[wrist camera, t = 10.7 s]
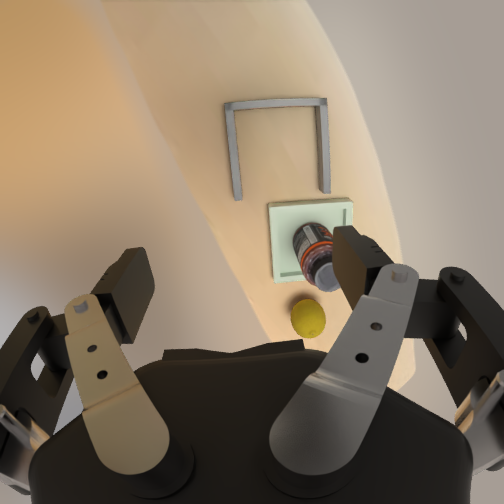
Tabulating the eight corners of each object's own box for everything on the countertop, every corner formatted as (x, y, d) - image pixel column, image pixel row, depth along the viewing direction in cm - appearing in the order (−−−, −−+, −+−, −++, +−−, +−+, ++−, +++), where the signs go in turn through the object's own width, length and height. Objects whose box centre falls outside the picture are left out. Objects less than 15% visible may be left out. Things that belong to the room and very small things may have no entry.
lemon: (307, 284, 47) (318, 313, 40) (325, 304, 49) (337, 334, 42) (281, 303, 48) (287, 334, 41) (299, 321, 50) (307, 352, 43)
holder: (225, 104, 35) (224, 103, 32) (321, 99, 35) (326, 98, 32) (235, 196, 40) (234, 200, 38) (325, 189, 40) (330, 193, 38)
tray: (268, 203, 41) (269, 207, 39) (348, 197, 41) (352, 201, 39) (272, 276, 46) (274, 283, 44) (345, 269, 46) (349, 275, 44)
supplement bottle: (338, 235, 43) (365, 272, 32) (313, 264, 45) (332, 307, 34) (308, 213, 41) (330, 245, 31) (283, 244, 43) (296, 284, 33)
